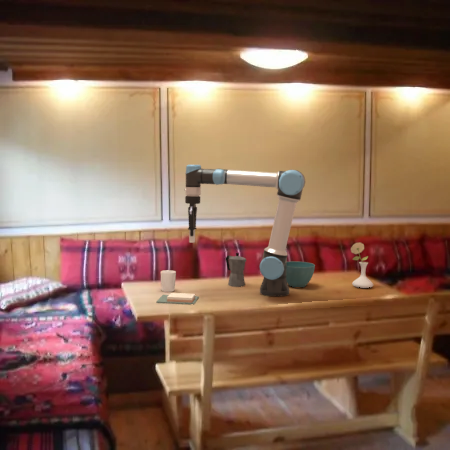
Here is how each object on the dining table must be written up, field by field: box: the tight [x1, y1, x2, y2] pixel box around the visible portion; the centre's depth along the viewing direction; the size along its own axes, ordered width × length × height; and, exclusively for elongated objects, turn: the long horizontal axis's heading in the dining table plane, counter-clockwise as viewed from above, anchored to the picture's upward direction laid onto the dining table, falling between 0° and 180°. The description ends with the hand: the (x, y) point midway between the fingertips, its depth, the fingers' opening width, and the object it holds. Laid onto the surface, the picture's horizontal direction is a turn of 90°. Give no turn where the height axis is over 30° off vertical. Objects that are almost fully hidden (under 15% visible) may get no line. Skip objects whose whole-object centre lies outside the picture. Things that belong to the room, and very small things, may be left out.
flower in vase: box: [350, 242, 374, 289], centre depth 330 cm, size 13×11×25 cm
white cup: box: [160, 269, 177, 293], centre depth 310 cm, size 8×8×10 cm
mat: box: [156, 294, 199, 305], centre depth 290 cm, size 18×15×1 cm
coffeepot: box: [225, 252, 247, 288], centre depth 328 cm, size 15×9×18 cm, turn 44°
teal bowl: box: [286, 261, 316, 288], centre depth 329 cm, size 18×18×12 cm
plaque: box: [167, 292, 196, 303], centre depth 288 cm, size 12×2×9 cm
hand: (192, 242), depth 302 cm, fingers closed
